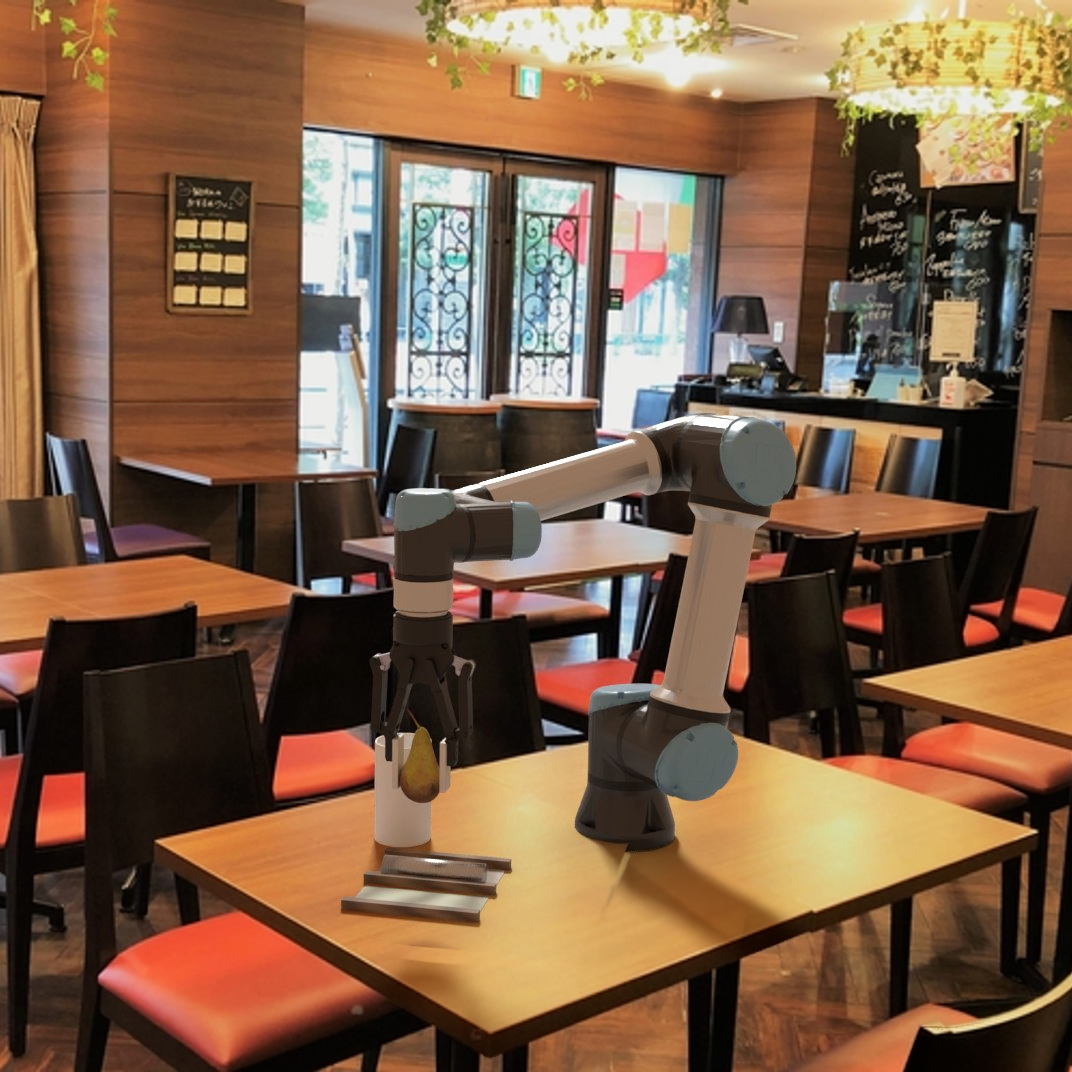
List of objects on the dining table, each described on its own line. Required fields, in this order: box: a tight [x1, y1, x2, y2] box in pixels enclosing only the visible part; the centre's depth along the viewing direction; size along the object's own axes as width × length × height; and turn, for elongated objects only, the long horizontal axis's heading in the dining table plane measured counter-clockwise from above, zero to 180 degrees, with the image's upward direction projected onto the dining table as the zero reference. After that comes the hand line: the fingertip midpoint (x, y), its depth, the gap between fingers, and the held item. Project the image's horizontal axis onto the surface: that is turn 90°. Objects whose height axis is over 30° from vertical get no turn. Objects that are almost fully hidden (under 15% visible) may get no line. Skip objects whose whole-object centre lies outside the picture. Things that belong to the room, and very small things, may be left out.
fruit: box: [400, 707, 440, 803], centre depth 193 cm, size 6×6×12 cm
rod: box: [380, 854, 487, 882], centre depth 203 cm, size 14×3×3 cm
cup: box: [373, 732, 432, 848], centre depth 219 cm, size 8×8×16 cm
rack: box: [340, 847, 512, 924], centre depth 201 cm, size 18×20×3 cm
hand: (421, 787), depth 193 cm, fingers closed on fruit, 6 cm apart
